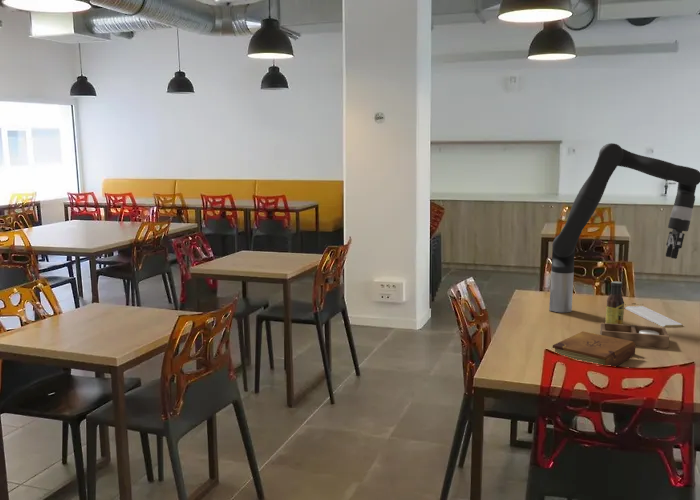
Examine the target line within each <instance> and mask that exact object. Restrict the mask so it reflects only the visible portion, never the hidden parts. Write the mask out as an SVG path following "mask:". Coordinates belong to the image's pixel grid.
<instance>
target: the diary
mask: <svg viewBox="0 0 700 500" xmlns="http://www.w3.org/2000/svg"><path fill="white" fill-rule="evenodd" d="M552 348H553V349H554V353H555V352H557V353H559V354H561V355H565V356H568V357H571V358H574V359H577V360H582V361H587V362H593V363H598V364H603V365H611V366H616V367H618V366H620V365H621V364H623V363H625V362H626V361H628V360H629V359H631V358H632V356H634V355H635V354H636V345H635V343H634V342H633V341H629V340H624V339H619V338H614V337H609V336H604V335H600V333H599V334H598V333H593V332H588V331H584V330H583V331H580V332H577V333H576V334H574V335H572V336H569V337H567V338H566V339H563V340H561V341H559V342H557V343H554V344H552ZM617 365H618V366H617Z"/></svg>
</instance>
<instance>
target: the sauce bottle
mask: <svg viewBox="0 0 700 500" xmlns="http://www.w3.org/2000/svg"><path fill="white" fill-rule="evenodd" d="M610 287H611V288H610V295H608V297H606V298H607V299H606V306H605V307H606V309H605V310H606V311H605V322H604V323H612V324H624V313H625V302H624V298H623V294H622V293H623V292H622V289H623V282H622V281H617V280H616V281H611V282H610Z"/></svg>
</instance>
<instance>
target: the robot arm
mask: <svg viewBox="0 0 700 500" xmlns="http://www.w3.org/2000/svg"><path fill="white" fill-rule="evenodd" d="M617 167H622V168H627V169H631V170H634V171H638V172H640V173H643V174H646V175H649V176H651V177H654V178H657V179H661V180H663V181H669V182H670V181H673V182H674V183H675V182H676V183H677V192H676V196H675V199H674V204H673V207H672V209H671V212H670V216H669V221H668V226H667V228H668V229H671V230H672V231H669V233H668V237H667V241H666V243H665V245H666V252H665V257H667V258H670V259H674V260H676V259H678V255H679V251H680V250H681V249H682V248H683V242H684V239H685V238H684V237H685V236H686V235H685V233H684V232H688V231H689V229H690V226H691V221H692V220H691V219H692V216H693V209H694V207H695V206H694V205H695V200H696V195H695V193H696V188H697V186H698V185H699V184H700V170H698V169H695V168H693V167H690V166H684V165H678V164H675V163H672V162H668V161H665V160H662V159H659V158H654V157H649V156H644V155H640V154H637V153H634V152H632V151H631V152H630V151H628V150H626V149H625V148H623V147H621V146H620V145H619V144H617V143H607V144H605V145H602V147H601V148H600V150H599V152H598V157H597V159H596V163H595V165H594V167H593V170H592V171H591V173H590V174H589V176H588V178H587V179H586V181H585V182H584V183H583V185H582V186H581V188H580V189H579V191H578V193H577V195H576V197H575V199H574V201H573V203H572V206H571V208H570V211H569V213H568V216H567V219H566V222H565V224H564V226H563V228H562V229H561V231H560V233H559V234H558V235H556V236H555V238H554V239H553V242H552V248H551V249H552V252H551V253H552V254H551V269H550V270H551V271H550V273H551V274H550V290H549V309H548V311H550V312H555V313H562V314H563V313H571V312H572V309H573V291H574V275H575V274H574V273H575V255H576V253H575V252H576V251H575V249H576V246H577V244H578V241H579V238H580V237H581V234H582V232H583V231H584V228H585V227H586V226H587V225H588V223H589V221H590V219H591V218H592V217H593V215H594V213H595V211H596V209H597V208H598V206H599V204H600V202H601V200H602V197H603V195H604V192H605V191H606V188H607V185H608V182H609V181H610V178H611V177H612V175H613V174H614V172H615V170H616V169H617Z"/></svg>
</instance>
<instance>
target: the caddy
mask: <svg viewBox="0 0 700 500" xmlns="http://www.w3.org/2000/svg"><path fill="white" fill-rule="evenodd" d="M641 330H651V331H656V332H658V333H659V335H654V334H642V333H639V331H641ZM599 335H604V336H609V337H614V338H619V339H624V340H629V341H633V342H634V343H635V347H637V346H638V347H647V348H648V347H649V348H657V349H659V348H661V349H669V344H670V343H669V342H670V335H669V333H668V331H667V330H666V327H661V326H649V325H635V324H634V325H633V324H624V323H623V324H612V323H605V322H600V332H599Z"/></svg>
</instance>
